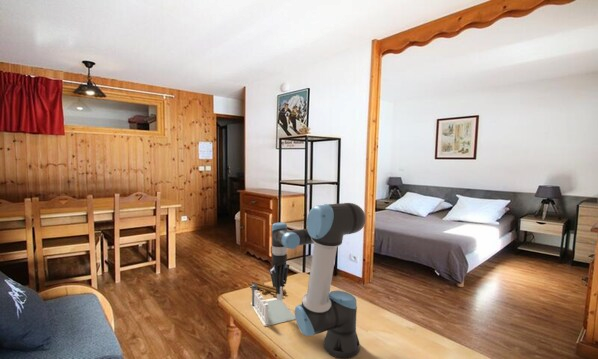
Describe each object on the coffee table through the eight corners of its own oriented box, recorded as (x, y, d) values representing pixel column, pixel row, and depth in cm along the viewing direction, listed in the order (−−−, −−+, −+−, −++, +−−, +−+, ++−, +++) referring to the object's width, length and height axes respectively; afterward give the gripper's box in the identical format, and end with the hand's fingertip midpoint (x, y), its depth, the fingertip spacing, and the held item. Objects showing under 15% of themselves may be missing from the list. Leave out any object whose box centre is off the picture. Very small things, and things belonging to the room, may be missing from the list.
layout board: (296, 319, 149) (296, 318, 149) (264, 326, 142) (264, 326, 142) (278, 297, 171) (278, 296, 171) (249, 303, 164) (249, 302, 164)
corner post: (258, 306, 161) (258, 285, 160) (252, 307, 160) (252, 286, 159) (256, 303, 164) (256, 283, 163) (250, 304, 163) (250, 284, 162)
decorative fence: (277, 298, 169) (288, 292, 178) (277, 295, 169) (288, 289, 177) (245, 288, 183) (256, 282, 191) (245, 284, 183) (256, 279, 191)
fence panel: (254, 305, 159) (254, 289, 159) (257, 305, 160) (257, 289, 159) (265, 323, 143) (265, 305, 143) (268, 322, 144) (268, 304, 143)
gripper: (282, 249, 158) (282, 293, 159) (265, 255, 148) (265, 301, 149) (293, 252, 154) (293, 297, 155) (275, 258, 144) (276, 306, 145)
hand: (279, 299), depth 152 cm, fingers closed
